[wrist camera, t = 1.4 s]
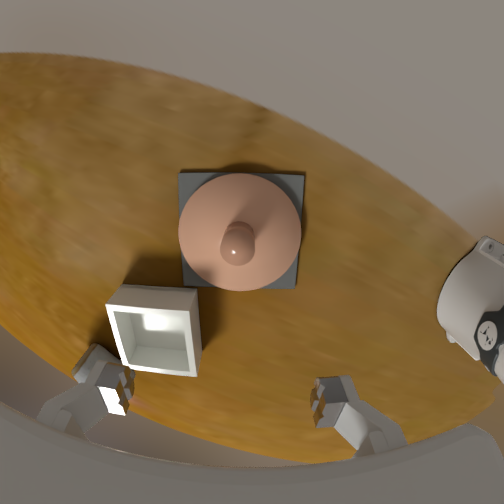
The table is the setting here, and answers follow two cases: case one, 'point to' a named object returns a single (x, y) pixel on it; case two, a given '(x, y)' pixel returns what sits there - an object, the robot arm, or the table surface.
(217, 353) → the table surface
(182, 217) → the lid
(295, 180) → the mat
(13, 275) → the table surface
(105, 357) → the ceramic mug
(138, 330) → the dish
